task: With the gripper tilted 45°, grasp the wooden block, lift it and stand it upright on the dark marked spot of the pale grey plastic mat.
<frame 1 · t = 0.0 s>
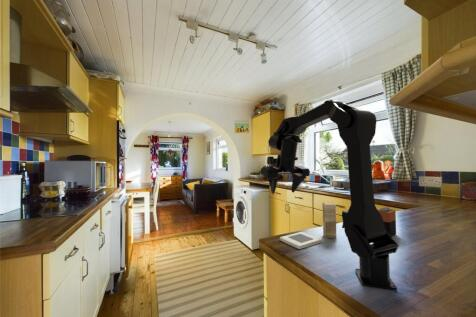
hand: (282, 192, 79), 15 cm above the worktop, tool pointing down, fingers open, 9 cm apart
layout mat: (300, 241, 70), on the worktop
battery: (386, 235, 75), on the worktop
wooden block: (329, 236, 74), on the worktop
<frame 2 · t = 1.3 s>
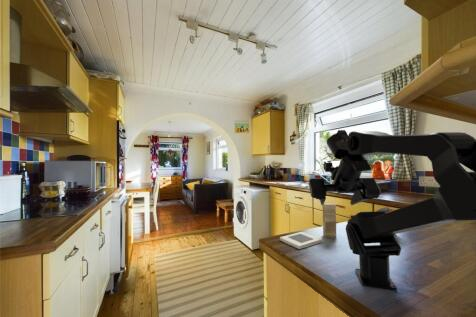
hand: (336, 203, 66), 13 cm above the worktop, tool tilted 45°, fingers open, 9 cm apart
nothing on the worktop moved.
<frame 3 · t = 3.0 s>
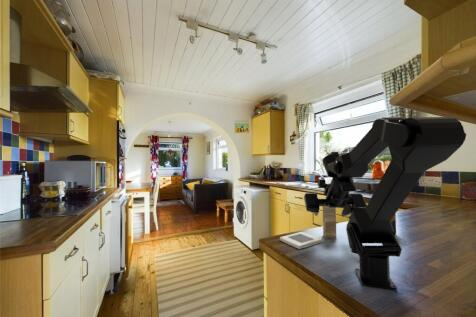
hand: (328, 215, 74), 8 cm above the worktop, tool tilted 45°, fingers open, 9 cm apart
nothing on the worktop moved.
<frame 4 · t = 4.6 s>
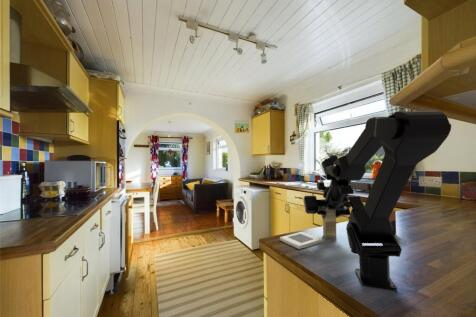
hand: (328, 217, 75), 7 cm above the worktop, tool tilted 45°, fingers closed on wooden block, 3 cm apart
wooden block: (329, 236, 74), on the worktop, touching gripper
everything else where it was.
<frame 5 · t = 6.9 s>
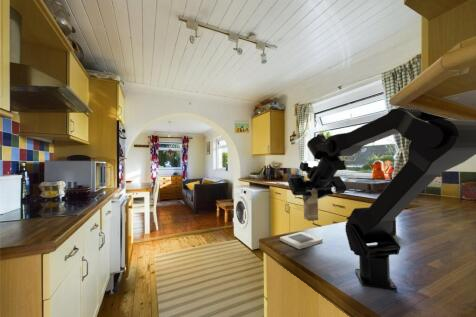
hand: (308, 199, 74), 13 cm above the worktop, tool tilted 45°, fingers closed on wooden block, 3 cm apart
wooden block: (310, 219, 72), point 7 cm above the worktop, touching gripper
everything else where it was.
when the fingers open (9 cm above the worktop, at t = 9.1 s): wooden block drops 1 cm, resting on layout mat.
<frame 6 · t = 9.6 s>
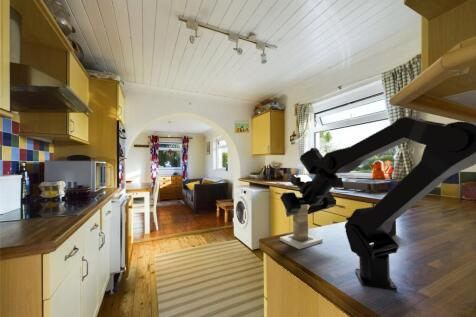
hand: (297, 214, 72), 9 cm above the worktop, tool tilted 45°, fingers open, 9 cm apart
wooden block: (300, 237, 70), point 1 cm above the worktop, touching layout mat
everything else where it was.
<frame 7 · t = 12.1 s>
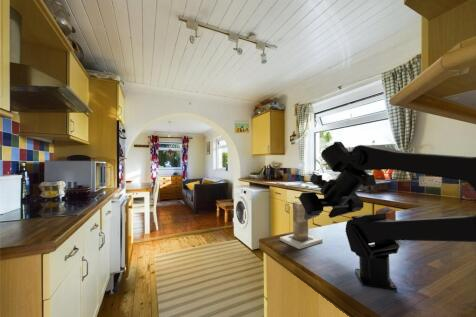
hand: (317, 217, 63), 10 cm above the worktop, tool tilted 45°, fingers open, 9 cm apart
nothing on the worktop moved.
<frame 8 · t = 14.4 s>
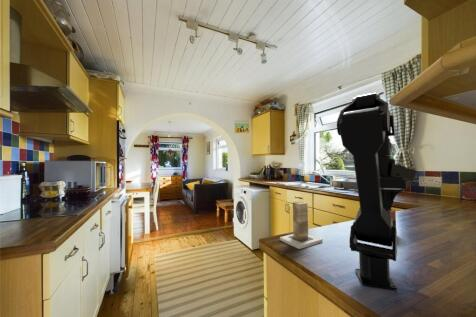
hand: (380, 210, 58), 13 cm above the worktop, tool pointing down, fingers open, 9 cm apart
nothing on the worktop moved.
at the end: wooden block 0.0 cm off-centre on the layout mat, point 1.1 cm above the layout mat's base; wooden block tilted 0°; the gripper is holding nothing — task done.
